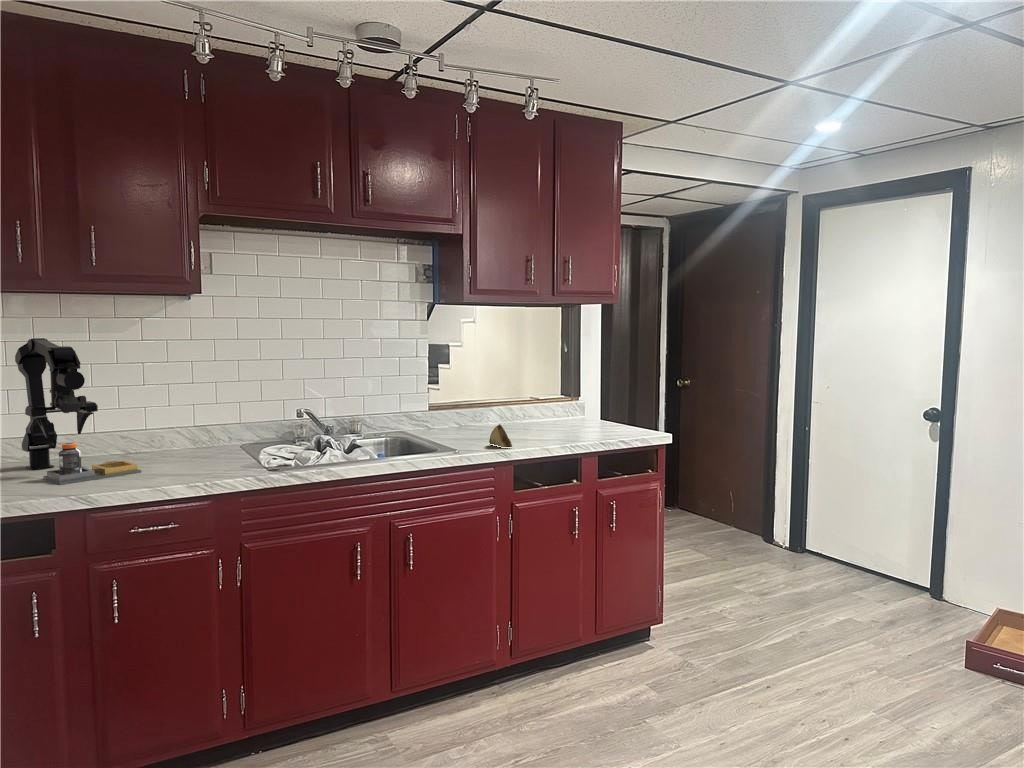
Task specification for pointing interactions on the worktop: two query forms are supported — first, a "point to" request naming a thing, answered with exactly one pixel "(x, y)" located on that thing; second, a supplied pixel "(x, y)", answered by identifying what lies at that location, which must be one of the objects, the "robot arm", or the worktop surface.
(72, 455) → the pill bottle
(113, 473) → the faceplate
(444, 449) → the worktop surface
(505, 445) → the rock
